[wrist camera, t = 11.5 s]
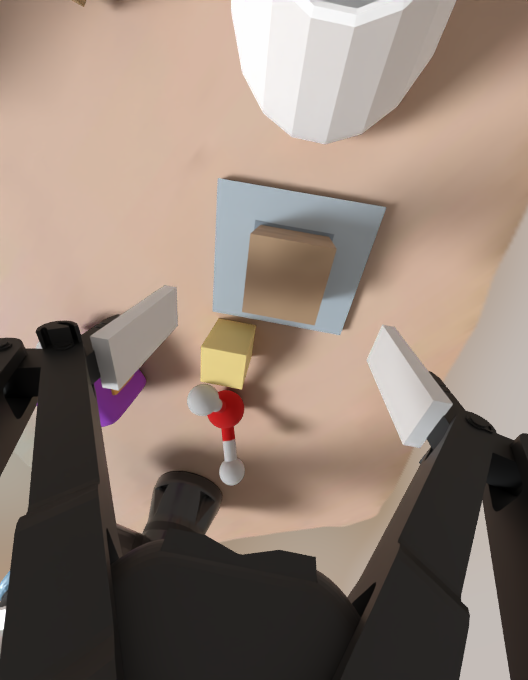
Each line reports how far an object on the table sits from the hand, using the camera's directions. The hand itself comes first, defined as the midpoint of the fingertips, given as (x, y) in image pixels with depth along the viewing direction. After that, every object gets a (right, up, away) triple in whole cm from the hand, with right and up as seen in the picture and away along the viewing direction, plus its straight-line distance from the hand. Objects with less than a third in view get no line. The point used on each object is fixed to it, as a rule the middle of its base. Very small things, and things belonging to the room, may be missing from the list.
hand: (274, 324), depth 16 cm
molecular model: (-6, -10, +24) cm, 26 cm away
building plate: (+2, +8, +12) cm, 14 cm away
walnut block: (+2, +7, +11) cm, 13 cm away
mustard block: (-5, -1, +18) cm, 18 cm away
